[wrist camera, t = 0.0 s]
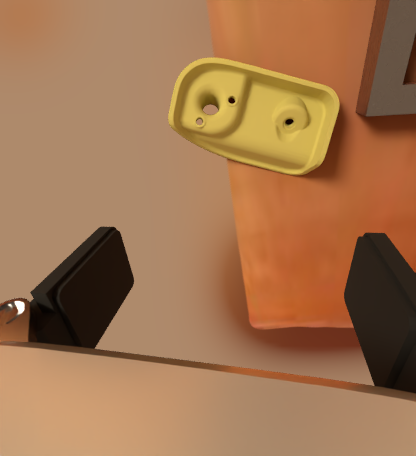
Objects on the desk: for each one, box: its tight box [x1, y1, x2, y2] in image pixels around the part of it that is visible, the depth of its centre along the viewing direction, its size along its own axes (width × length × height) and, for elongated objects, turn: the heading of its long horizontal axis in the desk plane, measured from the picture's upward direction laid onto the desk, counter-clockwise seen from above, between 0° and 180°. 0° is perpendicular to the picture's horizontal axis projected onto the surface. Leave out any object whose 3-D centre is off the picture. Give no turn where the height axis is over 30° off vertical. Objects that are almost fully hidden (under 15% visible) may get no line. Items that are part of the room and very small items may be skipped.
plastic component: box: [168, 58, 339, 175], centre depth 35 cm, size 20×7×10 cm
